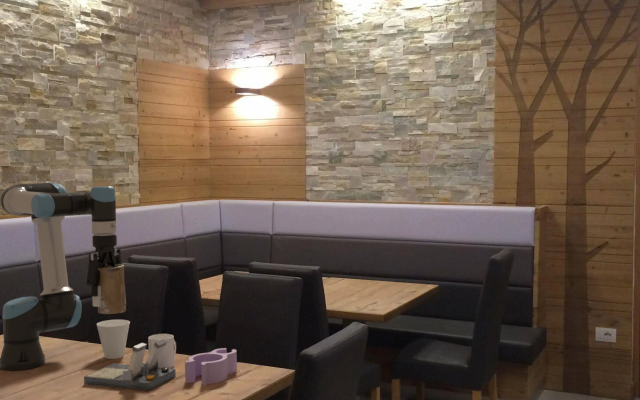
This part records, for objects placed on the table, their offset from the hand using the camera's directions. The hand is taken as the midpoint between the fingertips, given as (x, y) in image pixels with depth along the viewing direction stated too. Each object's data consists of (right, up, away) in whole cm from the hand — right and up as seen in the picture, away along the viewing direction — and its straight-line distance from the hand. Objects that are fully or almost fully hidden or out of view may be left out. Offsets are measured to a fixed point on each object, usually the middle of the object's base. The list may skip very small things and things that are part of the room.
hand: (106, 303), depth 238 cm
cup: (-7, -24, +32) cm, 41 cm away
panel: (+7, -25, +2) cm, 27 cm away
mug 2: (+15, -25, +19) cm, 34 cm away
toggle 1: (+10, -22, -3) cm, 24 cm away
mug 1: (0, -3, 0) cm, 3 cm away
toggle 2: (+13, -21, +5) cm, 25 cm away
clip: (+34, -25, +6) cm, 42 cm away
